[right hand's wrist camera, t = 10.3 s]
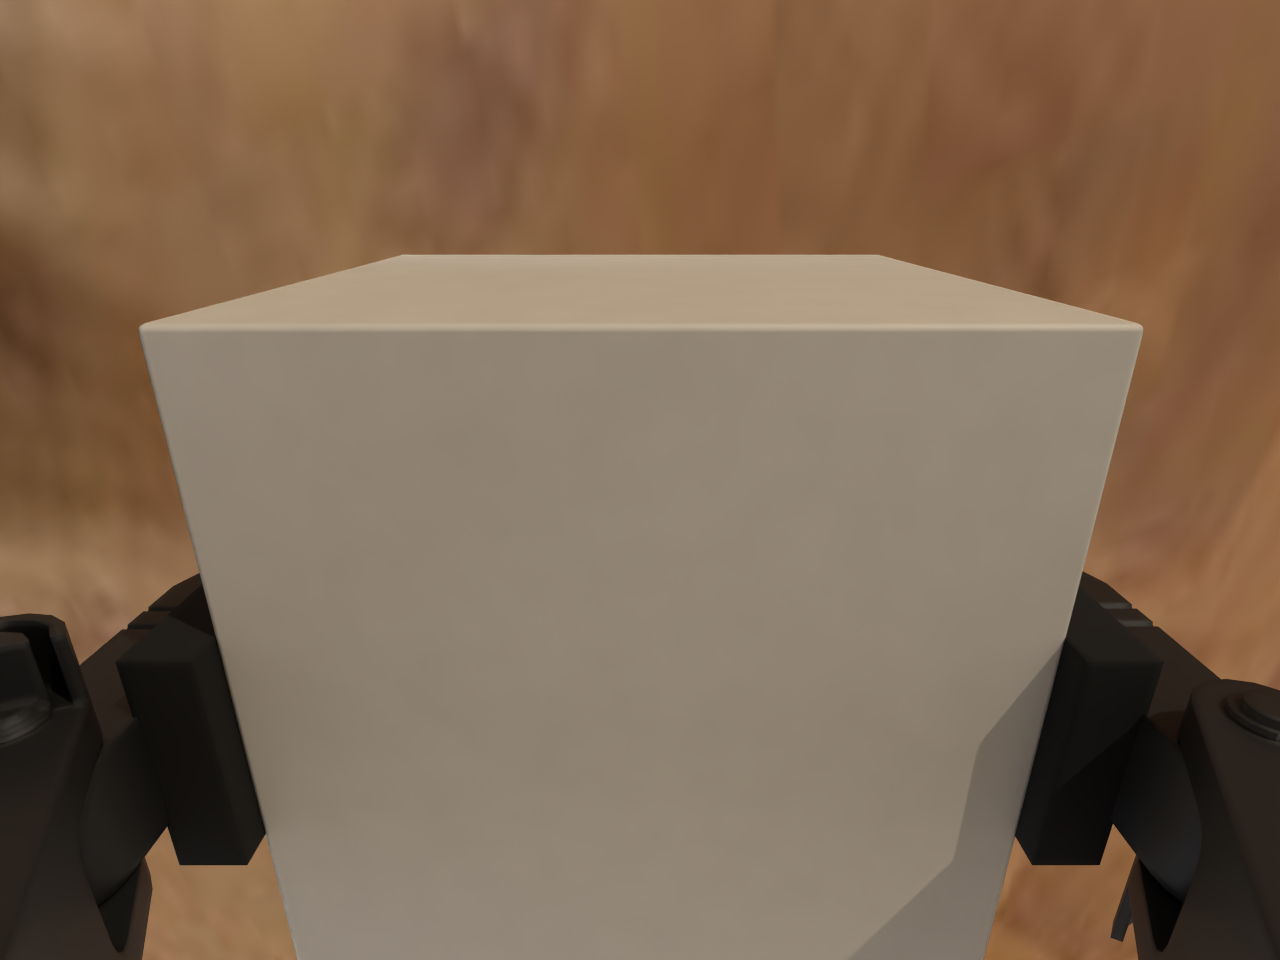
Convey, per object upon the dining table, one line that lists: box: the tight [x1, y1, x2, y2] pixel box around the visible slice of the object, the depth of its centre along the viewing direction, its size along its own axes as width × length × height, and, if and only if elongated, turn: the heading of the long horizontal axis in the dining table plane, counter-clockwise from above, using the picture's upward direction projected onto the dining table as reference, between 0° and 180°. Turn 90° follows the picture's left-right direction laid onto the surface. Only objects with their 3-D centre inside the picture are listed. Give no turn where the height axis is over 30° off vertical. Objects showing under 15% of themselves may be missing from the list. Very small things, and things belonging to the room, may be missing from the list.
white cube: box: [139, 255, 1143, 960], centre depth 11 cm, size 9×9×8 cm
